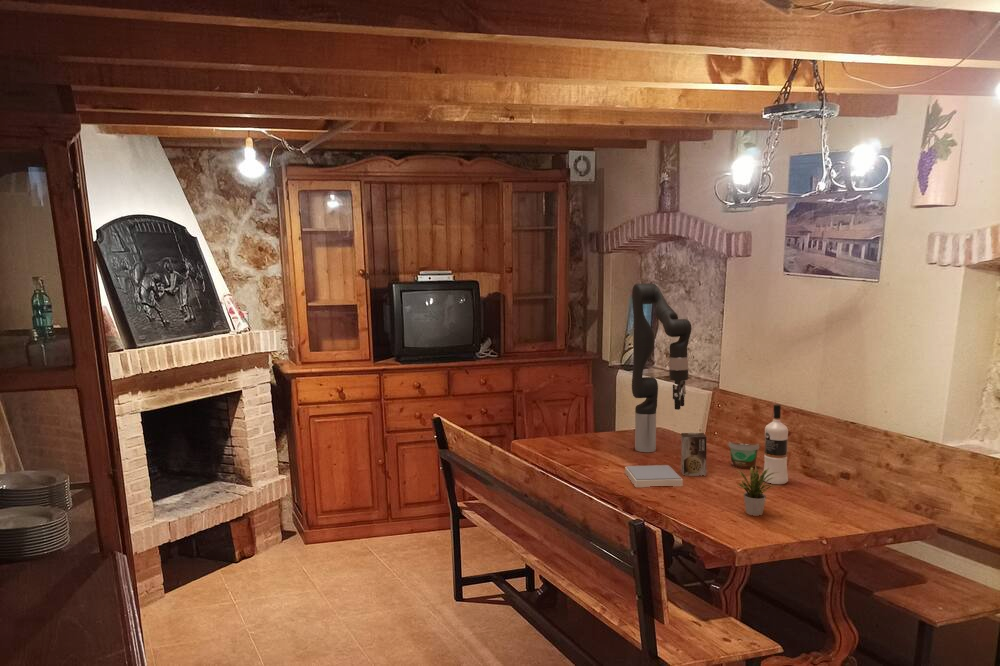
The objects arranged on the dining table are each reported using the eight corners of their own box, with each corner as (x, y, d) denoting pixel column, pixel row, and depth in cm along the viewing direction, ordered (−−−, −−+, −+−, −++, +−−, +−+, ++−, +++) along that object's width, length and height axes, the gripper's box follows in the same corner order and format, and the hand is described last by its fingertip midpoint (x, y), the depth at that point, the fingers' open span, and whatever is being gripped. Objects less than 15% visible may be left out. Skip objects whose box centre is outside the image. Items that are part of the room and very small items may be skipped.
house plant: (789, 519, 229) (791, 470, 228) (753, 524, 225) (755, 474, 224) (761, 505, 243) (763, 459, 241) (727, 509, 239) (728, 462, 237)
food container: (726, 468, 287) (727, 444, 286) (727, 464, 293) (728, 440, 292) (758, 471, 282) (759, 446, 281) (759, 466, 288) (759, 443, 287)
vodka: (792, 484, 264) (794, 406, 261) (768, 485, 264) (770, 407, 261) (781, 477, 274) (783, 402, 271) (758, 477, 273) (760, 402, 270)
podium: (625, 473, 281) (625, 465, 281) (669, 472, 282) (669, 464, 282) (635, 487, 263) (635, 479, 263) (682, 486, 264) (682, 478, 264)
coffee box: (703, 471, 282) (704, 432, 281) (706, 476, 276) (707, 436, 274) (680, 471, 283) (681, 432, 282) (683, 476, 277) (683, 436, 275)
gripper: (673, 366, 292) (673, 404, 293) (665, 370, 279) (666, 410, 280) (691, 366, 289) (692, 405, 289) (684, 370, 276) (685, 411, 277)
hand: (679, 407), depth 285 cm, fingers open, 8 cm apart
